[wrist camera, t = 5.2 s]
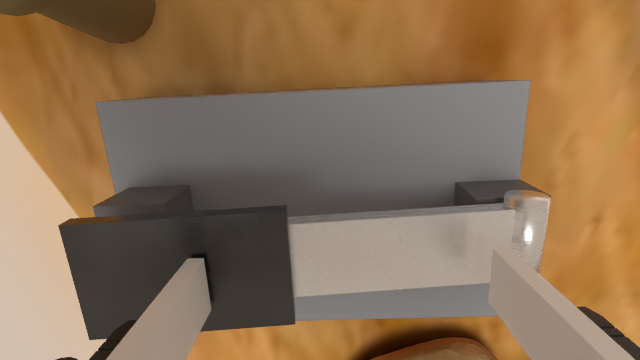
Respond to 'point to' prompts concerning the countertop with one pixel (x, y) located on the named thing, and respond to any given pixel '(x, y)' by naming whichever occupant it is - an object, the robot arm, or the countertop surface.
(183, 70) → the countertop surface
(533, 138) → the countertop surface
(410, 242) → the latch bar
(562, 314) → the robot arm
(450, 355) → the bread roll
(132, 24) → the cork
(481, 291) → the latch base
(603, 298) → the countertop surface
